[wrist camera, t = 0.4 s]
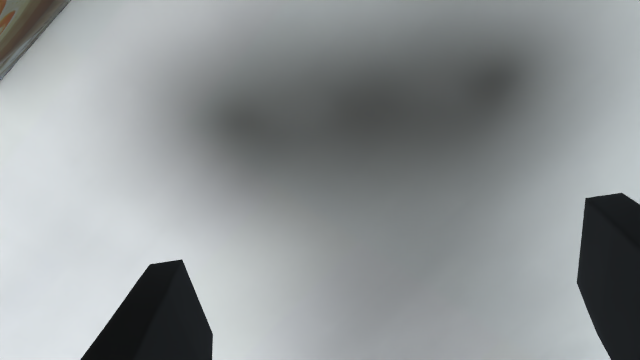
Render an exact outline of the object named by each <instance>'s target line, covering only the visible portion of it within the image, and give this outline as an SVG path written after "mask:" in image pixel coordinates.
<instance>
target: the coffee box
mask: <svg viewBox="0 0 640 360" xmlns="http://www.w3.org/2000/svg"><path fill="white" fill-rule="evenodd" d="M69 2H70V0H0V80H1V79H2V78H3V77H4V76H5V74H6V73H7V72H8V71H9V70H10V69H11V68H12V67H13V65H14V64H15V63H16V62H17V61H18V60H19V59H20V57H21V56H22V55H23V54H24V53H25V52H26V51H27V49H28V48H29V47H30V46H31V45H32V44H33V43H34V41H35V40H36V39H37V38H38V37H39V36H40V35H41V33H42V32H43V31H44V30H45V29H46V28H47V27H48V25H49V24H50V23H51V22H52V21H53V20H54V19H55V17H56V16H57V15H58V14H59V13H60V12H61V11H62V9H63V8H64V7H65V6H66V5H67V4H68V3H69Z"/></svg>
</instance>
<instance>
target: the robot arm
mask: <svg viewBox="0 0 640 360" xmlns="http://www.w3.org/2000/svg"><path fill="white" fill-rule="evenodd" d="M577 284H578V287H579V289H580V292H581V294H582V297H583V300H584V302H585V305H586V308H587V310H588V313H589V315H590V317H591V320H592V322H593V325H594V327H595V330H596V332H597V334H598V336H599V338H600V340H601V342H602V344H603V345H604V347H605V349H606V351H607V353H608V355H609V356H610V358H611V360H640V205H639V204H638V203H636V202H635V201H633V200H632V199H630V198H629V197H627V196H626V195H624V194H623V193H618V194H611V195H605V196H598V197H591V198H586V200H585V209H584V219H583V229H582V238H581V248H580V258H579V267H578V277H577ZM212 342H213V334H212V331H211V329H210V326H209V324H208V321H207V319H206V317H205V314H204V312H203V309H202V307H201V304H200V302H199V300H198V297H197V295H196V292H195V290H194V287H193V285H192V282H191V280H190V278H189V275H188V273H187V270H186V268H185V265H184V263H183V261H182V260H176V261H169V262H163V263H156V264H150V265H149V266H148V268H147V269H146V270H145V272H144V273H143V274H142V276H141V277H140V279H139V280H138V281H137V283H136V284H135V285H134V287H133V288H132V290H131V291H130V292H129V294H128V295H127V297H126V298H125V299H124V301H123V302H122V304H121V305H120V306H119V308H118V309H117V311H116V312H115V313H114V315H113V316H112V318H111V319H110V320H109V322H108V323H107V325H106V326H105V327H104V329H103V330H102V331H101V333H100V334H99V336H98V337H97V338H96V340H95V341H94V342H93V344H92V345H91V346H90V348H89V349H88V350H87V352H86V353H85V354H84V356H83V357H82V358H81V360H212Z"/></svg>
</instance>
